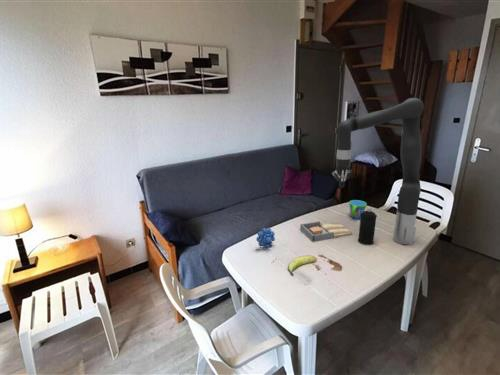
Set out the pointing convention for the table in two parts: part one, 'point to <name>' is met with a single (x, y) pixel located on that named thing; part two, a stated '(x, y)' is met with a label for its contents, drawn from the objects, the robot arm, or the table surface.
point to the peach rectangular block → (316, 230)
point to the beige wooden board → (336, 229)
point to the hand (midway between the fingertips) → (341, 187)
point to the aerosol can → (367, 227)
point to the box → (314, 238)
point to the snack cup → (357, 208)
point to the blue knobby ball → (265, 237)
